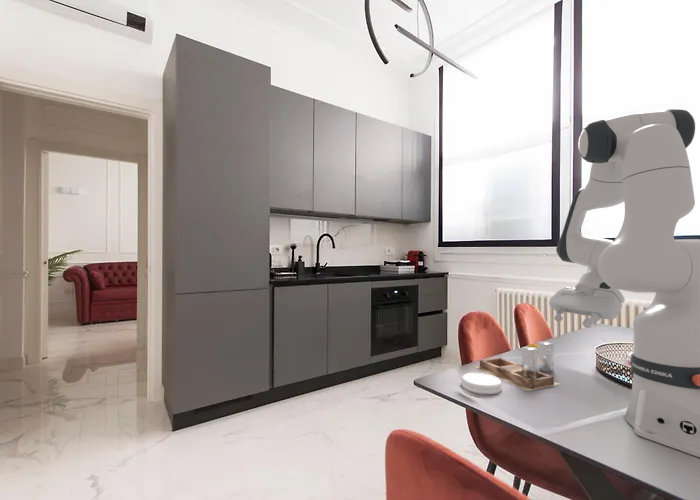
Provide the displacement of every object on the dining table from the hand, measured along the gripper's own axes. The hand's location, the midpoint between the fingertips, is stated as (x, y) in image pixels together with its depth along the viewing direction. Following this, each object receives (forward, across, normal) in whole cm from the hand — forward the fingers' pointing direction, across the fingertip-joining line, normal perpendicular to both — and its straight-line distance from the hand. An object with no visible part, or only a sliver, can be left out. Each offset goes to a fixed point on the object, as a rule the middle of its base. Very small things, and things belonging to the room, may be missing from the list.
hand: (570, 323), depth 109 cm
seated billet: (+25, +5, -7) cm, 27 cm away
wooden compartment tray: (+26, 0, -6) cm, 27 cm away
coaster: (+37, +3, -16) cm, 41 cm away
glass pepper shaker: (+18, 0, +3) cm, 18 cm away
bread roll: (+9, -14, +12) cm, 21 cm away
